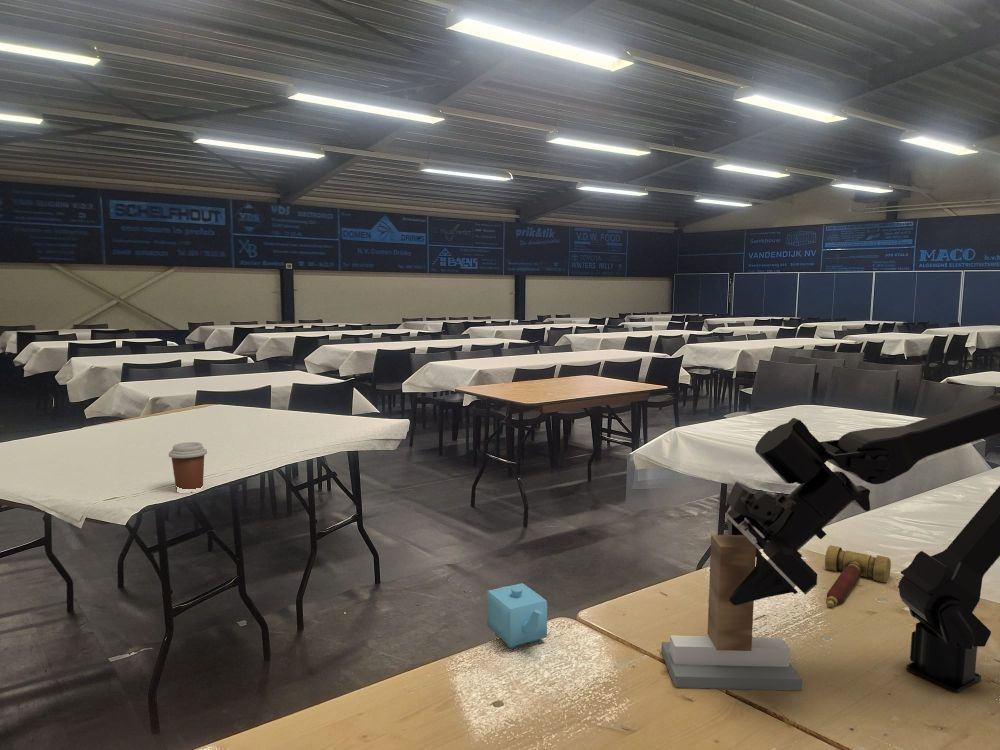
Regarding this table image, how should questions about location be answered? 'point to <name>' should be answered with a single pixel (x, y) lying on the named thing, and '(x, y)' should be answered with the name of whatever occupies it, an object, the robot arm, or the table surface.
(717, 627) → the walnut post
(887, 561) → the gavel
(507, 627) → the teapot
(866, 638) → the table surface
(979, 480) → the table surface
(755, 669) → the ridge board
